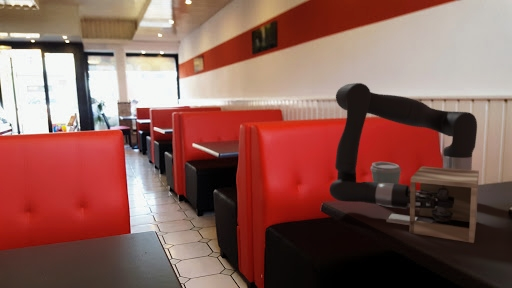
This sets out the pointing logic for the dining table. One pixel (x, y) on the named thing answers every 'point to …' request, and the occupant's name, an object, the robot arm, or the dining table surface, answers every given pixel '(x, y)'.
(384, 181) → the disposable coffee cup
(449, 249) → the dining table surface
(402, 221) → the mat
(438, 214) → the salt shaker
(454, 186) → the hutch
